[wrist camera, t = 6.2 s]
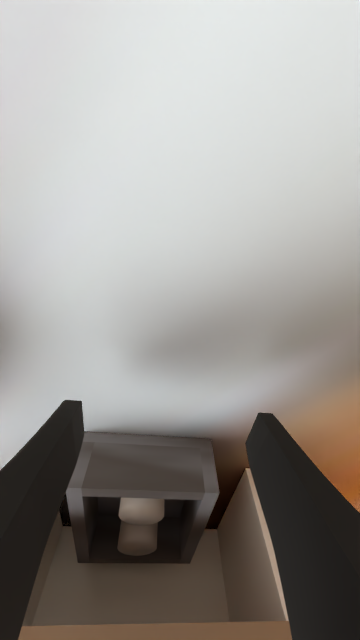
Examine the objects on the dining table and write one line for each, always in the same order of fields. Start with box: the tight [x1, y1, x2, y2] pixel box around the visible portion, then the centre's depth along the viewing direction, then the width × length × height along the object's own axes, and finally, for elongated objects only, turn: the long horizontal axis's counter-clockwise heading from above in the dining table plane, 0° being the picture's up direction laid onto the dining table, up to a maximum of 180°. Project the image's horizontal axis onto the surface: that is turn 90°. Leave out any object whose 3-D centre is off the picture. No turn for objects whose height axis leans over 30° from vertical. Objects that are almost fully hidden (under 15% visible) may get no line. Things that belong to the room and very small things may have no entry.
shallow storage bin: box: [18, 468, 292, 640], centre depth 16 cm, size 11×16×8 cm
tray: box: [66, 432, 220, 564], centre depth 17 cm, size 10×8×4 cm
